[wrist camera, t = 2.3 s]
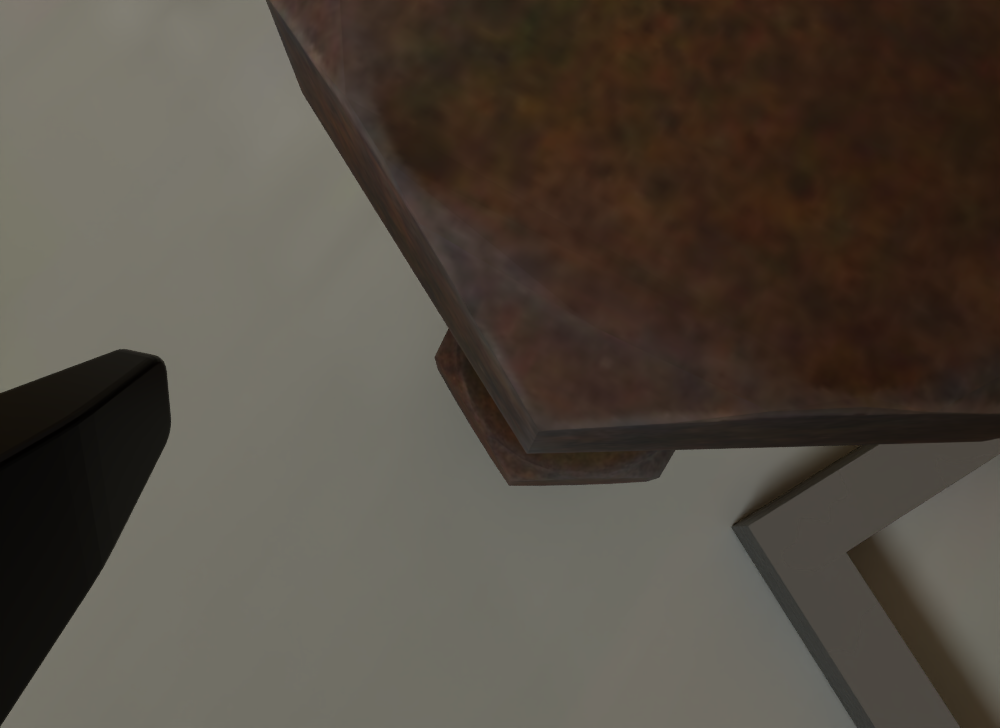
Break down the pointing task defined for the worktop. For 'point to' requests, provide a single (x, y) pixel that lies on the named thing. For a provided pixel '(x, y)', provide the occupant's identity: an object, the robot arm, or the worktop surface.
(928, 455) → the socket plate
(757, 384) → the bolt
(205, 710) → the worktop surface
